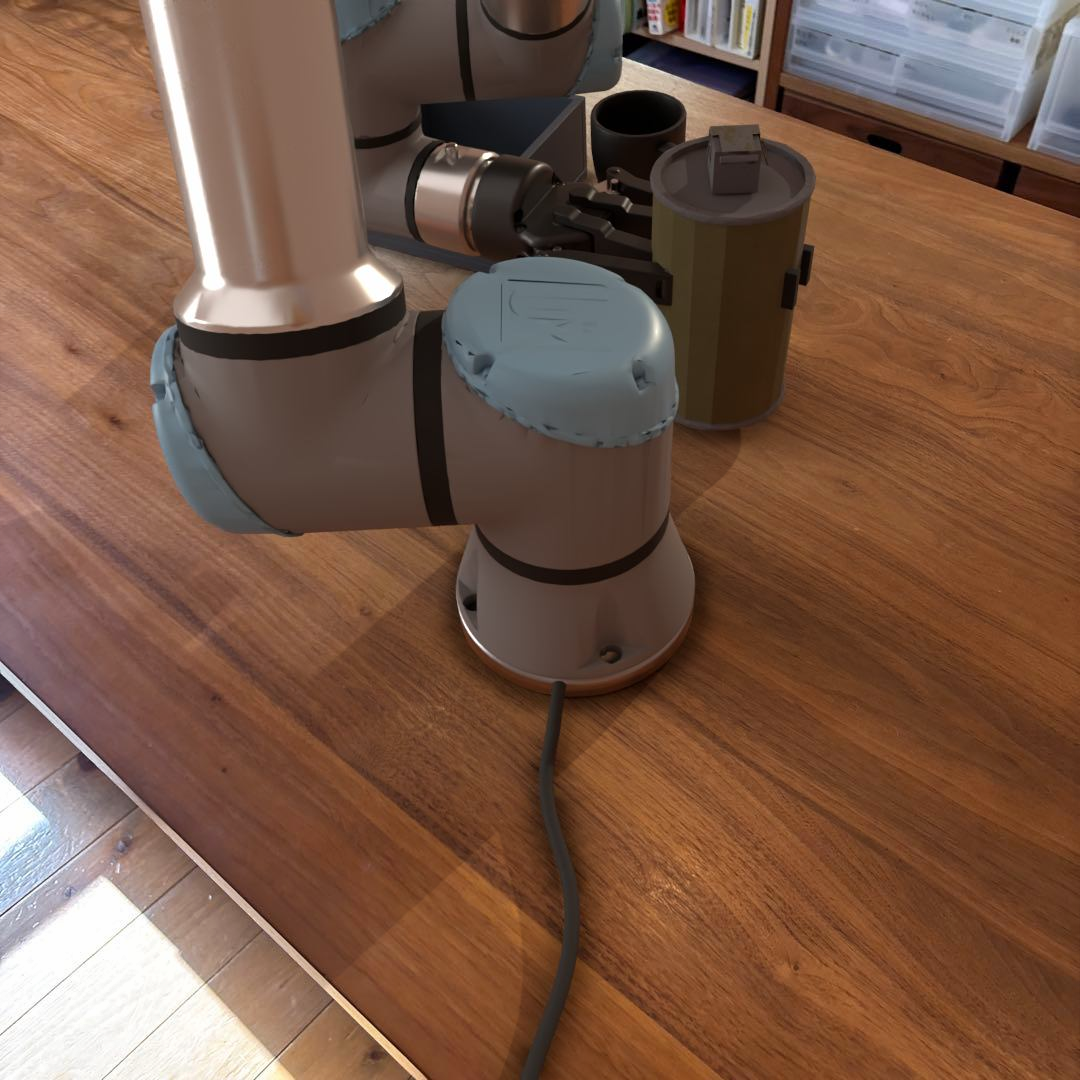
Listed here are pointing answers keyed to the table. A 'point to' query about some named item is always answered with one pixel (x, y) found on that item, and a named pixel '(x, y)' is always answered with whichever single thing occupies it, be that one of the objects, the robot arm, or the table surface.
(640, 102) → the mug
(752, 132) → the canister
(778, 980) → the table surface
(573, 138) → the basket
